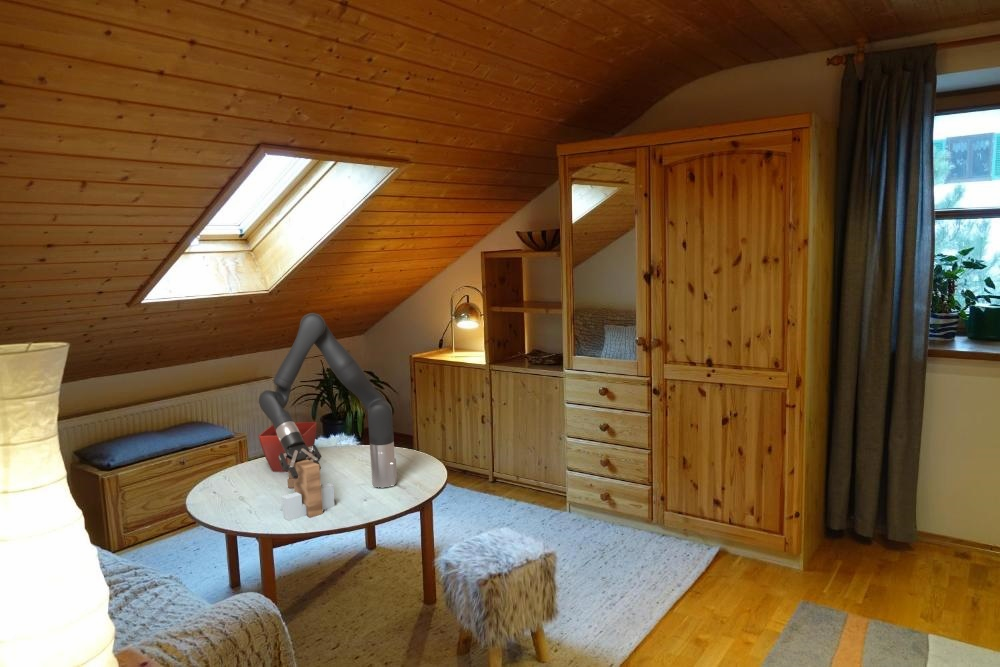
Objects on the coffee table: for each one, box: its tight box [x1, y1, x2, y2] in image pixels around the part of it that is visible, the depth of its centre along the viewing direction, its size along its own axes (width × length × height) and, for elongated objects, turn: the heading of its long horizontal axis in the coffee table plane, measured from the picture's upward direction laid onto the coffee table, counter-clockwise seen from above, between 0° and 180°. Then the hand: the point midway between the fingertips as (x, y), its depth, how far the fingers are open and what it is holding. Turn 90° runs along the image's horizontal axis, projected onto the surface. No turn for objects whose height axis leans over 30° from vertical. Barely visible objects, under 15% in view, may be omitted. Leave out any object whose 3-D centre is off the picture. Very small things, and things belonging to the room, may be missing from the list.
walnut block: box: [293, 459, 324, 519], centre depth 253 cm, size 10×5×18 cm, turn 43°
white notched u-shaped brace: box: [281, 482, 336, 522], centre depth 254 cm, size 18×4×8 cm, turn 133°
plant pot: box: [258, 421, 318, 473], centre depth 303 cm, size 19×19×17 cm
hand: (308, 474), depth 252 cm, fingers open, 8 cm apart
